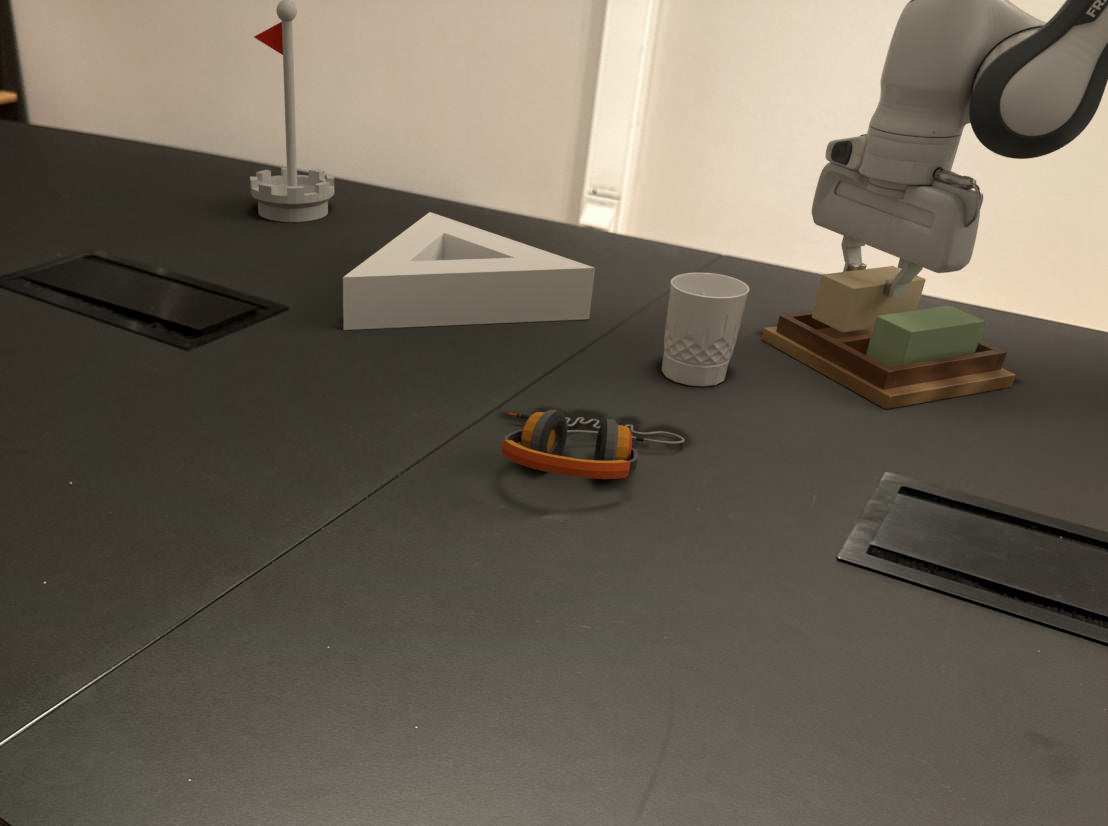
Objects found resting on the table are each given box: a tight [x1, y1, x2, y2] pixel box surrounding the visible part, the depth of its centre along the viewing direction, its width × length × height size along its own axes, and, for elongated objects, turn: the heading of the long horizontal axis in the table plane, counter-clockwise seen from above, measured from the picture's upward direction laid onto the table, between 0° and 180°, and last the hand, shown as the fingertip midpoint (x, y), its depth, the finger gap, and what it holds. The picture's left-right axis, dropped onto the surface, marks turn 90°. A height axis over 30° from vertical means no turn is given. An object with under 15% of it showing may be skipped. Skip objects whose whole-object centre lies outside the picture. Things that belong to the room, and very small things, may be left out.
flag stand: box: [249, 0, 335, 223], centre depth 157 cm, size 13×13×30 cm
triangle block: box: [342, 211, 596, 331], centre depth 129 cm, size 30×26×6 cm
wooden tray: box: [761, 310, 1017, 410], centre depth 116 cm, size 17×20×4 cm
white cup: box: [661, 272, 750, 387], centre depth 111 cm, size 8×8×10 cm
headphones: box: [501, 409, 685, 480], centre depth 95 cm, size 17×5×20 cm
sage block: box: [866, 305, 986, 367], centre depth 112 cm, size 10×5×5 cm, turn 110°
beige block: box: [812, 265, 927, 333], centre depth 117 cm, size 10×5×5 cm, turn 111°
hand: (871, 287), depth 116 cm, fingers closed on beige block, 5 cm apart
